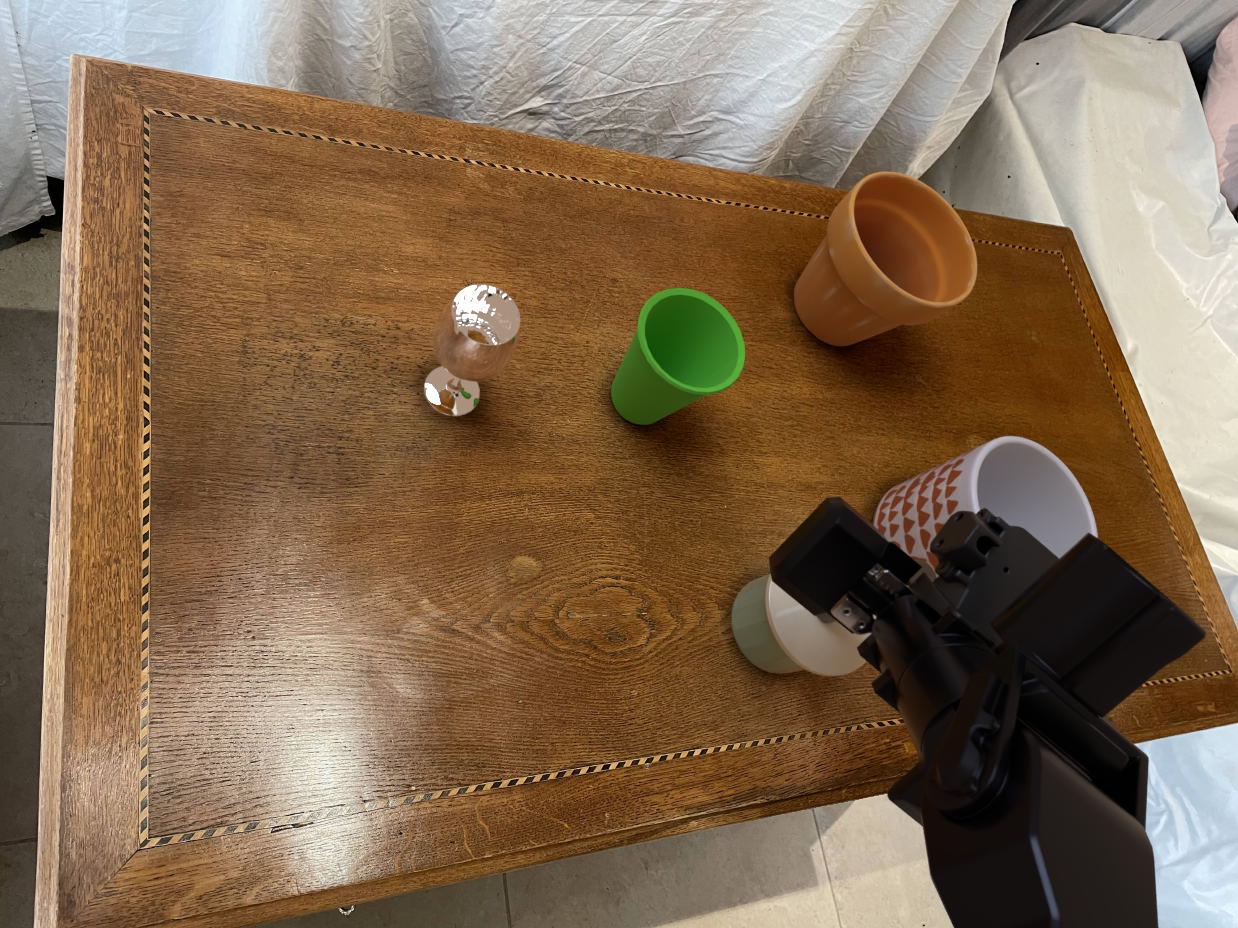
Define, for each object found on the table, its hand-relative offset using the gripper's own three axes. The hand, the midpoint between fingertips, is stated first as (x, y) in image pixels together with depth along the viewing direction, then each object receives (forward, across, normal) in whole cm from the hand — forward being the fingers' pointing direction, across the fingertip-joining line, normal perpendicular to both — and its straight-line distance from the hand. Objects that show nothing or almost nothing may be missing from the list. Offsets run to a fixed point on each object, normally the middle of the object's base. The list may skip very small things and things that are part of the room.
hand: (884, 576), depth 55 cm
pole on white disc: (+4, 0, +6) cm, 7 cm away
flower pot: (+32, +10, -13) cm, 36 cm away
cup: (+15, +21, +4) cm, 26 cm away
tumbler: (+9, 0, +10) cm, 14 cm away
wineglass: (+7, +33, +12) cm, 36 cm away
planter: (+21, -10, -1) cm, 23 cm away
